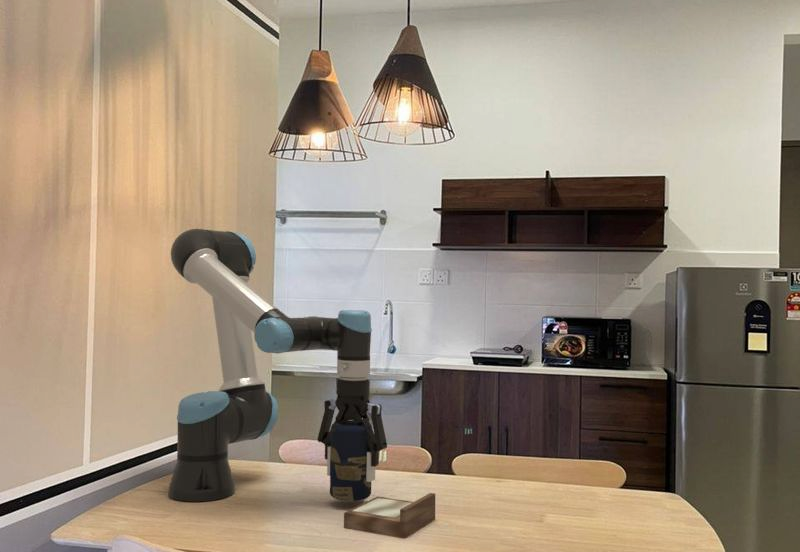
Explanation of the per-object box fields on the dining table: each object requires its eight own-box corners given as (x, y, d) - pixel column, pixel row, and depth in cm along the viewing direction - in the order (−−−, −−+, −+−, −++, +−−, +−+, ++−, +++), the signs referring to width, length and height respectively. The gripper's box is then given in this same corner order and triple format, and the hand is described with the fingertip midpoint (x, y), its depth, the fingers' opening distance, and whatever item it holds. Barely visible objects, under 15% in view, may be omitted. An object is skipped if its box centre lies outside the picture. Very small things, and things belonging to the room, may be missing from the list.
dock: (343, 527, 150) (344, 500, 150) (377, 510, 163) (377, 485, 163) (405, 538, 144) (405, 510, 144) (435, 519, 156) (435, 493, 156)
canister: (365, 505, 162) (367, 423, 162) (323, 502, 163) (325, 420, 164) (375, 494, 171) (377, 416, 171) (335, 491, 173) (337, 413, 173)
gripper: (303, 376, 169) (300, 474, 169) (388, 383, 159) (386, 488, 159) (321, 373, 176) (318, 467, 176) (404, 380, 166) (402, 480, 165)
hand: (350, 477), depth 167 cm, fingers closed on canister, 10 cm apart
